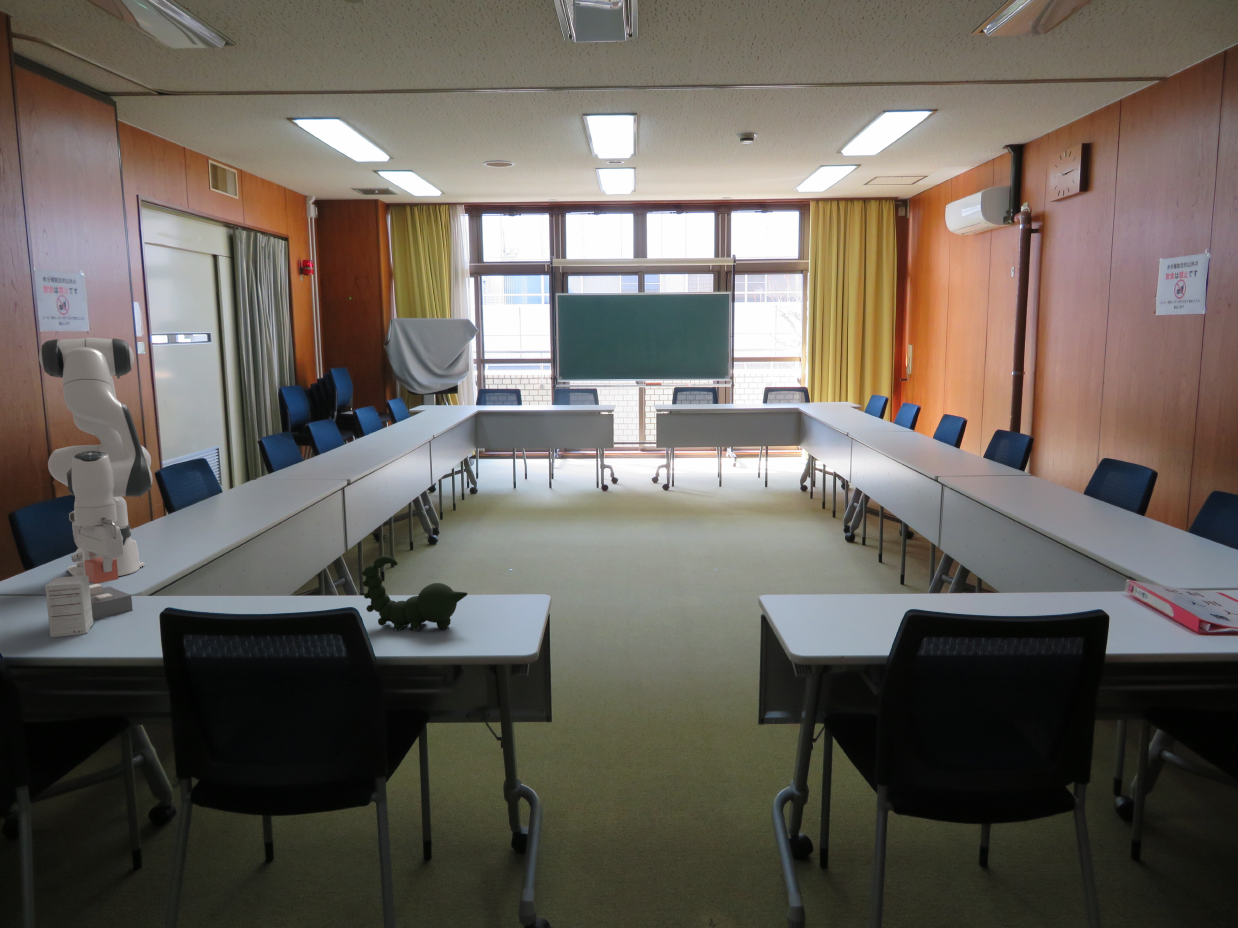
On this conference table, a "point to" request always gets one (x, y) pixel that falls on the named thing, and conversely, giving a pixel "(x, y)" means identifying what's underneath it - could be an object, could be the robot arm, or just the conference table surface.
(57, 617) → the supplement box
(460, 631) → the conference table surface
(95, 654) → the conference table surface
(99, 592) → the breaker
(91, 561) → the red cube
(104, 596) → the block
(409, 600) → the toy figurine
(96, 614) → the block
